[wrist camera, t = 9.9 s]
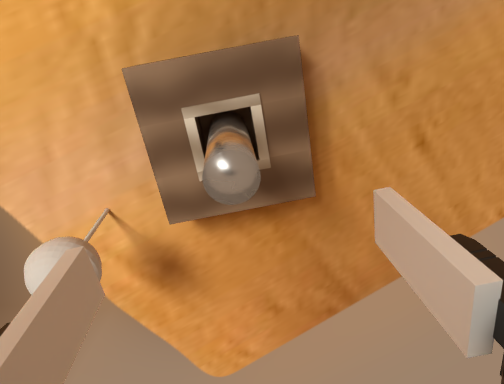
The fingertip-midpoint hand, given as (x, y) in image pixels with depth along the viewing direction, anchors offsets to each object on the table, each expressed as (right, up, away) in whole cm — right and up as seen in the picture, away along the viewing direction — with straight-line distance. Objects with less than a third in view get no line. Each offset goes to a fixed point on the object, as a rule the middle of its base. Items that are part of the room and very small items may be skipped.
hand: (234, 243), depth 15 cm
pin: (-2, +9, +22) cm, 24 cm away
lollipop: (-17, 0, +25) cm, 30 cm away
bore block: (-2, +10, +23) cm, 25 cm away
